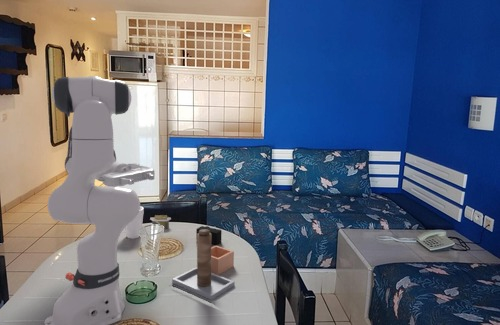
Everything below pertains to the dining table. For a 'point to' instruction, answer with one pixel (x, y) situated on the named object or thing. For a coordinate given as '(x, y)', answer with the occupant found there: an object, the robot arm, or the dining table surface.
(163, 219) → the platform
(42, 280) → the dining table surface
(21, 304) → the dining table surface
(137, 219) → the foam cup
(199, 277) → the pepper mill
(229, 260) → the orange open box
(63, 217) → the robot arm
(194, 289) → the tray
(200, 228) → the digital camera
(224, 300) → the dining table surface
